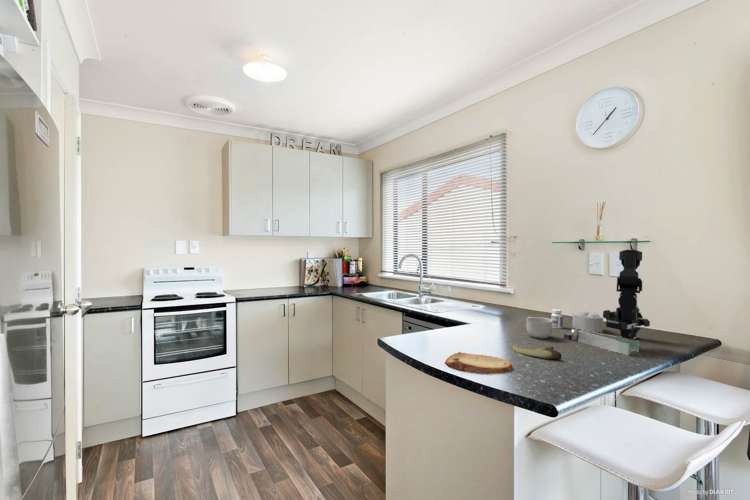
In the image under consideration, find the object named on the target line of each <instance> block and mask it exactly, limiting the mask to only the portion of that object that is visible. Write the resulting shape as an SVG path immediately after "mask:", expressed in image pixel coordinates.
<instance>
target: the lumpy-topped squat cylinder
mask: <svg viewBox="0 0 750 500" xmlns="http://www.w3.org/2000/svg"><path fill="white" fill-rule="evenodd" d="M572 327H573V328H576V329H580V330H585V331H592V332H602V331H603V330H604V317H603V316H601V315H599V314H598V313H597V312H595V311H591V312H588V311H582V310H581V311H577V312H574V313H572ZM573 328H572V329H573ZM580 330H579V331H580ZM603 332H604V331H603Z"/></svg>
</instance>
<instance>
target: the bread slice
mask: <svg viewBox="0 0 750 500" xmlns="http://www.w3.org/2000/svg"><path fill="white" fill-rule="evenodd" d="M445 364H446V365H447V366H448V367H447V366H446V365H445ZM444 365H445V366H446V367H447V368H451V367H452V369H454V368H455V370H457V369H458V371H461V370H462V372H465V371H467V372H466V373H473V372H476V373H475V374H491V373H493V374H503V373H504V374H505V373H509V372H511V371H513V370H514V367H513V365H512V363H511V362H510V360H508V359H506V358H503V357H497V356H492V355H484V354H477V353H476V354H475V353H466V352H461V351H458V352H457V353H453V354H451V355H449V357H447V358H446V360H445V361H444Z"/></svg>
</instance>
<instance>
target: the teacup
mask: <svg viewBox="0 0 750 500" xmlns="http://www.w3.org/2000/svg"><path fill="white" fill-rule="evenodd" d="M525 320H526V321H525V322H526V323H525V325H526V332H527V333H528V335H529V336H531V337H532V338H536V339H548V338H549V337H551V335H552V334H553V328H552V322H553V321H552V320H551V318H548V317H540V316H538V317H537V316H535V317H534V316H533V317H532V316H527V317H526V318H525Z"/></svg>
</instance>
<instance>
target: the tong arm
mask: <svg viewBox="0 0 750 500" xmlns="http://www.w3.org/2000/svg"><path fill="white" fill-rule="evenodd" d="M581 331H583V332H587V333H591V334H595V335H599V336H603V337H607V338H611V339H615V340H619V341H623V342H627V343H630V350H631V351H630V352H633V351H636V353H640V339H628V338H623V337H617V335H610V334H607V333H606V334H605V333H595V332H590V331H584V330H581Z"/></svg>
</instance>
